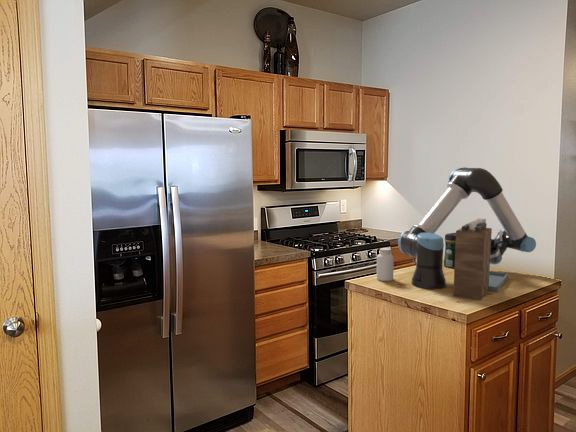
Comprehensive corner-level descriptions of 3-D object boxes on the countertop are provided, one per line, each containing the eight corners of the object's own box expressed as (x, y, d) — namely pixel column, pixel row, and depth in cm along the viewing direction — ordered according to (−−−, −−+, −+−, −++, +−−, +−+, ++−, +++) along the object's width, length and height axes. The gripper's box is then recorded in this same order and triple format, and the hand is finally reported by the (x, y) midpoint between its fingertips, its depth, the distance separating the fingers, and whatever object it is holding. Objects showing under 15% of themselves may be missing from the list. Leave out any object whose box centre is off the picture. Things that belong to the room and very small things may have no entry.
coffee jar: (452, 264, 255) (453, 231, 253) (464, 266, 248) (466, 233, 246) (440, 266, 250) (442, 232, 248) (453, 269, 243) (454, 234, 241)
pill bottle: (382, 276, 227) (382, 246, 225) (396, 279, 222) (397, 248, 220) (373, 279, 222) (373, 248, 220) (387, 282, 216) (388, 251, 214)
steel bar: (478, 225, 208) (478, 218, 208) (485, 225, 207) (485, 218, 206) (468, 230, 192) (468, 223, 191) (475, 230, 190) (476, 223, 190)
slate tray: (469, 272, 235) (470, 268, 235) (508, 277, 225) (508, 273, 225) (454, 286, 209) (454, 281, 209) (497, 292, 200) (497, 287, 199)
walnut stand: (462, 287, 207) (465, 221, 204) (488, 291, 201) (492, 223, 198) (453, 296, 194) (456, 225, 190) (480, 300, 188) (484, 228, 184)
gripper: (517, 258, 221) (512, 241, 205) (463, 252, 235) (455, 236, 218) (519, 243, 224) (515, 226, 207) (465, 238, 237) (457, 222, 221)
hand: (484, 231), depth 213 cm, fingers open, 13 cm apart
